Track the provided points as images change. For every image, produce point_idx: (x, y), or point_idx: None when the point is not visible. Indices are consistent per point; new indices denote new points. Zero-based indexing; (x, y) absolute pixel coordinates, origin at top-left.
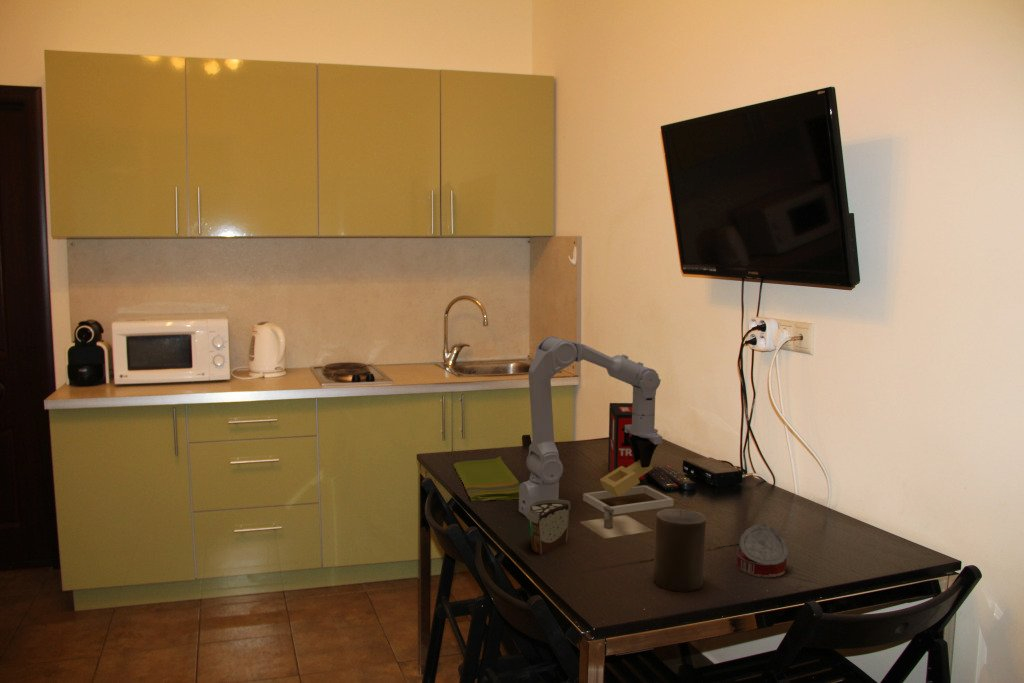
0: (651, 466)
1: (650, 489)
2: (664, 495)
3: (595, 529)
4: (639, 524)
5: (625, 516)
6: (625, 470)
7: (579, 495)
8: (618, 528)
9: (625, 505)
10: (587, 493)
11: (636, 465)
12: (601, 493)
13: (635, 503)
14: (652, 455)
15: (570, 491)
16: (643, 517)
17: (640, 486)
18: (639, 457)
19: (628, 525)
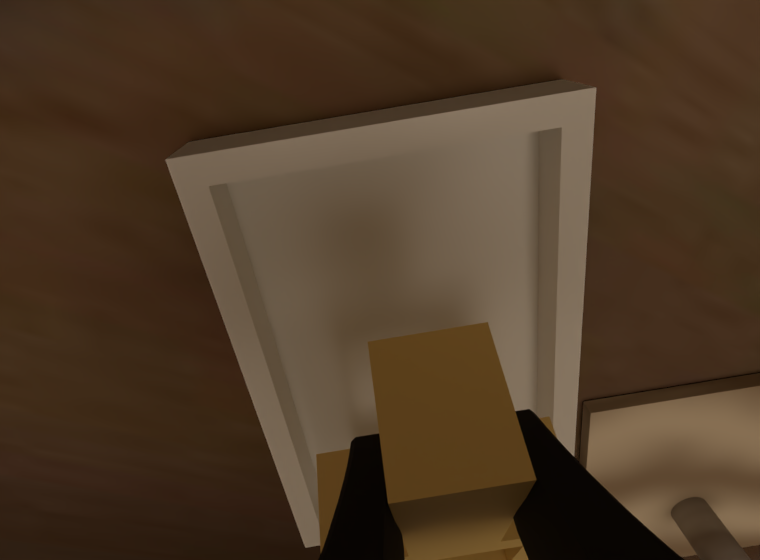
0: (497, 365)
1: (294, 167)
2: (478, 119)
3: (680, 547)
4: (737, 399)
5: (609, 421)
6: (443, 555)
7: (181, 491)
8: (724, 483)
9: (565, 430)
10: (307, 532)
11: (479, 529)
12: (302, 470)
13: (559, 375)
14: (649, 530)
15: (107, 511)
16: (613, 323)
17: (199, 215)
18: (397, 551)
19: (719, 442)
